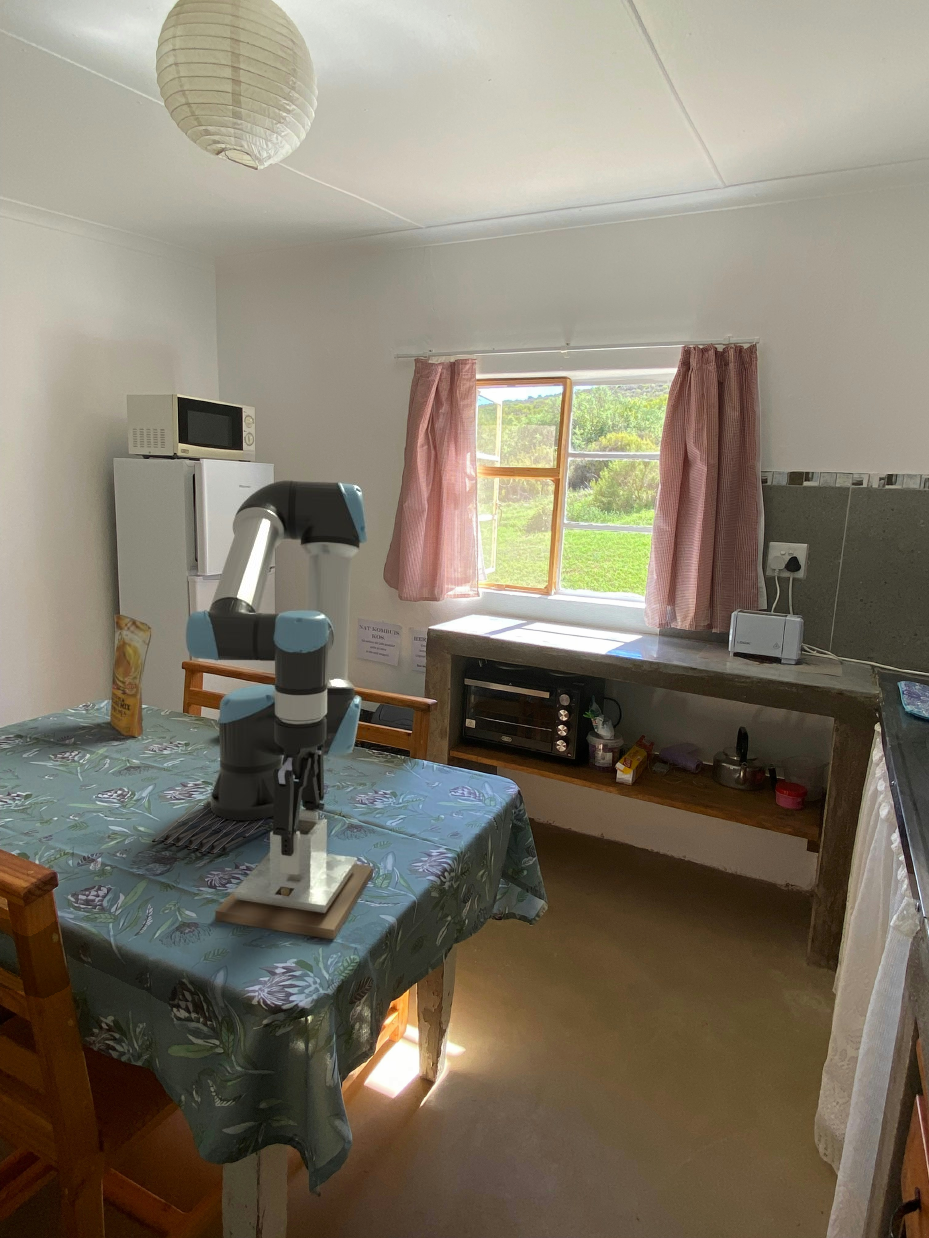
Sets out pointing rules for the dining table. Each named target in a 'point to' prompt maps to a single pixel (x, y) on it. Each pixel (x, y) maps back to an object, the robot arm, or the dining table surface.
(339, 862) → the flange
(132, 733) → the pancake mix bag
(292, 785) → the robot arm
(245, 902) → the post board
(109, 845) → the dining table surface
